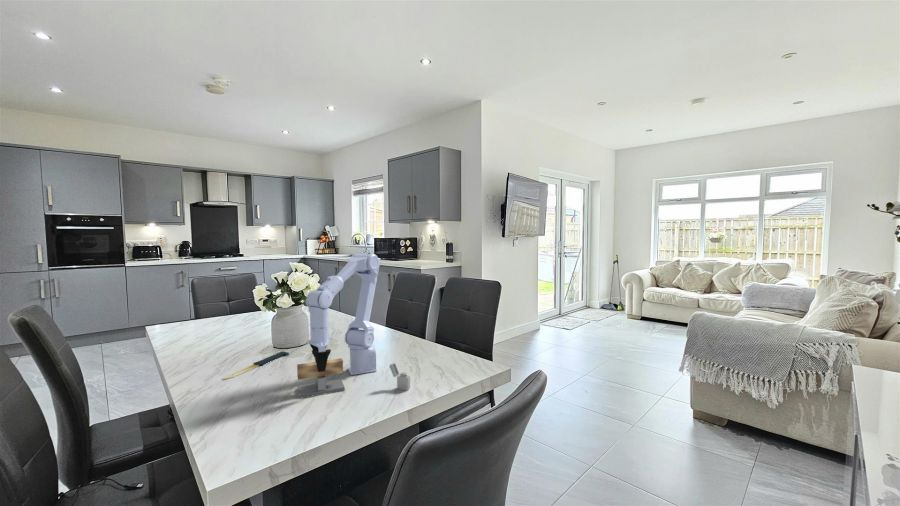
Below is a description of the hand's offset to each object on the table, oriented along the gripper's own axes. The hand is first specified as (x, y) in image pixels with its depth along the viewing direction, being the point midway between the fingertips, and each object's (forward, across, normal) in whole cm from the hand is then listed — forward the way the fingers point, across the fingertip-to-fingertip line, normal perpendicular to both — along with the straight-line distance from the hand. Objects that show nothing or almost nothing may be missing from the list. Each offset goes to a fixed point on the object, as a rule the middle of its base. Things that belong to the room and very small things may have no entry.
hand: (320, 367), depth 121 cm
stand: (+7, 0, 0) cm, 7 cm away
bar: (+2, 0, 0) cm, 2 cm away
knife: (+8, -34, -21) cm, 41 cm away
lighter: (+8, +10, +24) cm, 27 cm away
